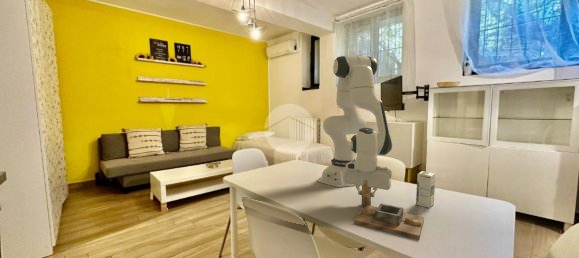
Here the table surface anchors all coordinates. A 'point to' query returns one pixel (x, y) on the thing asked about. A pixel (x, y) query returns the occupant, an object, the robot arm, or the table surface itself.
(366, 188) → the pin
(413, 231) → the wooden socket board
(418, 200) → the syrup box
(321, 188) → the table surface
